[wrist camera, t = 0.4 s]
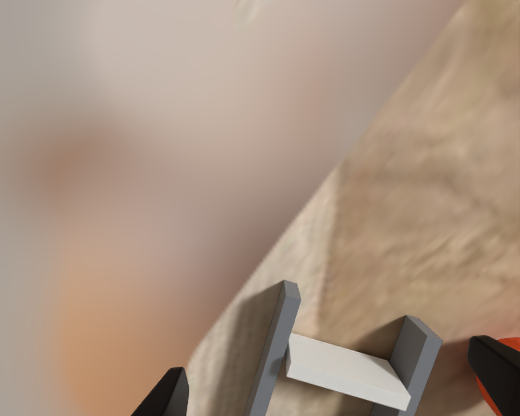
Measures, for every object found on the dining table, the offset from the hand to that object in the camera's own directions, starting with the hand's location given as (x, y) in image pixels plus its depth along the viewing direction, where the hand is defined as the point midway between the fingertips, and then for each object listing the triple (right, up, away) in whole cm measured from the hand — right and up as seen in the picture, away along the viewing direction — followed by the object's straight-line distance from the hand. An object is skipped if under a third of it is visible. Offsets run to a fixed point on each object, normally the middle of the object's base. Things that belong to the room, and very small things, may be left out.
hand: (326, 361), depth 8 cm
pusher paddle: (+5, -8, +16) cm, 18 cm away
